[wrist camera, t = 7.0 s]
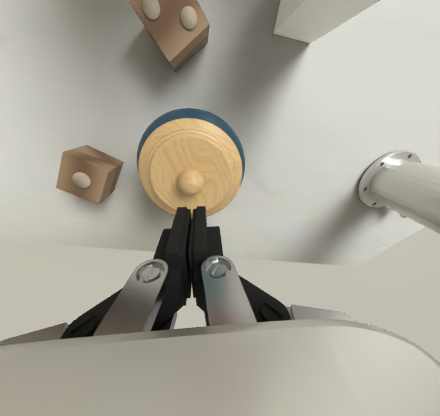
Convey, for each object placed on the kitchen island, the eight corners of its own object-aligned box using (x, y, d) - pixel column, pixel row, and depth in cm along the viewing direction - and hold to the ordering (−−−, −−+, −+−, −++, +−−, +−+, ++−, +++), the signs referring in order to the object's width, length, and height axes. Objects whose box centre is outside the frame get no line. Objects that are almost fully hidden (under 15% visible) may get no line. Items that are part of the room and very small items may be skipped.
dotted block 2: (207, 42, 25) (209, 23, 20) (175, 71, 26) (169, 61, 21) (178, -10, 23) (172, -48, 17) (144, 26, 24) (128, 0, 18)
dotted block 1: (123, 162, 32) (107, 172, 26) (114, 189, 34) (98, 204, 29) (86, 145, 30) (62, 152, 24) (79, 175, 32) (55, 188, 27)
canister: (233, 179, 35) (258, 232, 20) (168, 188, 35) (142, 249, 19) (227, 104, 29) (258, 97, 14) (148, 114, 29) (87, 118, 13)
